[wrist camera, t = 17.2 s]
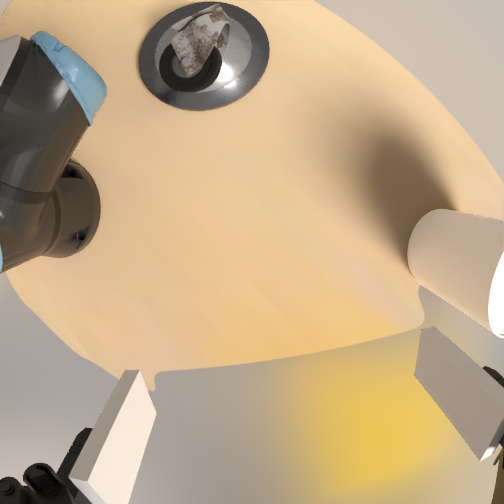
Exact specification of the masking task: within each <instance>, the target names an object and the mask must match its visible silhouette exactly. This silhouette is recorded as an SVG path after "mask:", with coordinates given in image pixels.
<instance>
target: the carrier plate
mask: <svg viewBox="0 0 504 504" xmlns="http://www.w3.org/2000/svg"><path fill="white" fill-rule="evenodd" d="M215 4H219V5H220V6H221V8H222V9H223V11H224V12H225V13H226V15H227V16H228V21H229V23H230V38H229V44H228V48H227V51H226V53H225V55H224V57H223V58H222V68H221V72H220V74H219V76H218V78H217V79H216V80H215V81H214V83H213V84H212V85H210V86H209V87H208V88H206V89H204V90H201V91H198V92H192V93H188V92H181V91H177V90H174V89H172V88H170V87H169V86H168V85H166V84H165V83H164V81H163V80H162V78H161V76H160V72H159V61H160V57H161V55H162V53H163V51H164V50H165V48H166V47H167V46H168V45H169V44H170V43H171V42H170V40H171V39H172V37H173V36H174V35H176V34H177V33H179V32H178V31H176V30H175V29H173V28H172V27H171V26H173V25H174V24H176V23H178V22H180V21H182V20H184V19H186V18H188V17H190V16H192V15H194V14H196V13H198V12H200V11H202V10H204V9H206V8H208V7H211V6H213V5H215ZM268 59H269V41H268V37H267V34H266V32H265V30H264V28H263V27H262V25H261V24H260V22H259V21H258V20H257V19H256V18H255V17H254V16H252V15H251V14H250V13H248V12H247V11H245V10H244V9H241V8H239V7H237V6H234V5H231V4H227V3H222V2H201V3H195V4H191V5H188V6H185V7H182V8H180V9H177V10H175V11H173V12H172V13H170V14H168V15H167V16H166V17H164V18H163V19H161V20H160V21H159V22H158V23H157V24H156V25H155V26H154V27H153V29H152V30H151V31H150V32H149V34H148V35H147V37H146V39H145V41H144V43H143V45H142V48H141V52H140V58H139V66H140V73H141V76H142V79H143V81H144V83H145V85H146V86H147V88H148V89H149V90H150V91H151V92H152V93H153V95H155V96H156V97H157V98H158V99H159V100H161V101H162V102H164V103H166V104H167V105H170V106H172V107H175V108H178V109H182V110H189V111H206V110H212V109H217V108H221V107H224V106H227V105H229V104H231V103H233V102H235V101H237V100H239V99H240V98H242V97H243V96H245V95H246V94H247V93H249V92H250V91H251V90H252V89H253V88H254V87H255V86H256V84H257V83H258V82H259V81H260V79H261V77H262V76H263V74H264V72H265V70H266V67H267V63H268Z"/></svg>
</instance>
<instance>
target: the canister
mask: <svg viewBox="0 0 504 504" xmlns="http://www.w3.org/2000/svg"><path fill="white" fill-rule="evenodd" d="M407 260H408V266H409V269H410V272H411V274H412V276H413V277H414V279H415V280H416V281H417V282H418V283H419V284H421V285H422V286H424V287H425V288H427V289H428V290H430V291H432V292H433V293H435V294H436V295H438V296H439V297H441V298H442V299H444V300H446V301H447V302H448V303H450V304H451V305H453V306H454V307H456V308H457V309H459V310H460V311H462V312H464V313H465V314H467V315H468V316H469V317H471V318H473V319H474V320H476V321H477V322H478V323H480V324H481V325H483V326H484V327H485V328H487V329H488V330H490V331H491V332H492V333H494V334H495V335H497V336H499V337H500V338H504V221H503V220H499V219H494V218H489V217H484V216H479V215H474V214H469V213H464V212H459V211H453V210H448V209H436V210H432V211H430V212H428V213H427V214H425V215H424V216H423V217H422V218H421V219H420V220H419V221H418V223H417V224H416V226H415V227H414V229H413V231H412V233H411V236H410V239H409V243H408V249H407Z"/></svg>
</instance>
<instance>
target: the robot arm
mask: <svg viewBox="0 0 504 504" xmlns="http://www.w3.org/2000/svg"><path fill="white" fill-rule="evenodd" d="M106 94H107V87H106V84H105V82H104V80H103V79H102V78H101V76H100V75H99V74H98V73H97V72H96V71H95V70H94V69H93V68H92V67H91V66H90V65H89V64H88V63H87V62H85V61H84V60H83V59H82V58H81V57H80V56H79V55H77V54H76V53H75V52H74V51H72V50H71V49H70V48H68V47H67V46H64V45H63V44H62V43H61V42H59V41H58V40H57V39H56V38H55V37H53V36H52V35H50V34H48V33H46V32H43V31H39V32H37V33H36V34H35V35H33V36H32V37H31V38H30V41H29V40H27V39H25V38H23V37H21V36H19V35H15V36H12V37H9V38H7V39H4V40H2V41H0V273H2V272H5V271H7V270H9V269H11V268H13V267H15V266H18V265H20V264H22V263H24V262H26V261H29V260H31V259H33V258H36V257H38V256H47V257H54V258H64V257H68V256H71V255H73V254H75V253H78V252H79V251H81V250H83V249H84V248H85V247H86V246H87V245H88V244H89V243H90V241H91V240H92V239H93V237H94V235H95V233H96V230H97V228H98V224H99V220H100V208H101V207H100V197H99V193H98V189H97V186H96V184H95V182H94V180H93V178H92V177H91V175H90V174H89V173H88V172H87V171H86V170H85V169H84V168H83V167H82V166H80V165H78V164H76V163H74V162H70V161H69V159H70V157H71V156H72V154H73V152H74V150H75V148H76V147H77V145H78V143H79V141H80V140H81V138H82V136H83V135H84V133H85V131H86V130H87V128H88V126H89V127H90V126H91V125H92V123H93V118H94V117H95V115H96V113H97V112H98V110H99V108H100V107H101V105H102V103H103V102H104V100H105V98H106ZM414 376H415V377H416V378H417V379H418V380H419V382H420V383H421V384H422V386H423V387H424V388H425V389H426V391H427V392H428V393H429V394H430V396H431V397H432V398H433V400H434V401H435V402H436V403H437V405H438V406H439V407H440V409H441V410H442V411H443V412H444V414H445V415H446V416H447V418H448V419H449V420H450V422H451V423H452V424H453V425H454V427H455V428H456V429H457V431H458V432H459V433H460V435H461V436H462V437H463V439H464V440H465V442H466V443H467V444H468V445H469V447H470V448H471V450H472V451H473V452H474V454H475V455H476V456H477V458H478V459H479V461H481V460H483V459H485V458H486V457H488V456H489V455H491V454H493V453H494V451H495V450H496V448H497V446H498V444H499V443H500V445H501V446H502V447H503V448H502V450H501V451H500V453H499V455H498V456H497V458H496V459H495V461H494V464H493V465H495V464H496V463H497V462H498V460H499V466H498V472H497V478H496V485H495V490H494V494H493V499H492V503H491V504H504V378H503V377H502V376H501V375H500V374H499V373H498V372H497V371H496V370H494V369H491V368H489V367H487V366H485V367H483V368H481V367H480V366H479V365H478V364H477V363H475V361H474V360H472V359H471V358H470V357H469V356H468V355H467V354H466V353H465V352H463V351H462V350H461V349H460V348H459V347H458V346H456V345H455V344H454V343H453V342H452V341H451V340H450V339H448V338H447V337H446V336H445V335H444V334H443V333H441V332H440V331H439V330H438V329H437V328H436V327H434V326H431V327H428V328H425V329H421V335H420V342H419V349H418V355H417V362H416V368H415V373H414ZM156 414H157V413H156V411H155V408H154V406H153V404H152V401H151V399H150V396H149V394H148V391H147V388H146V386H145V383H144V380H143V377H142V375H141V372H140V370H125V371H124V373H123V375H122V377H121V378H120V380H119V382H118V384H117V385H116V387H115V389H114V391H113V393H112V394H111V396H110V398H109V400H108V402H107V404H106V406H105V407H104V409H103V411H102V413H101V414H100V416H99V418H98V420H97V422H96V424H95V426H94V428H85V429H84V430H82V431H81V432H80V433H79V434H78V435H77V437H76V438H75V440H74V442H73V445H72V446H71V447H70V449H69V453H67V455H66V457H65V458H64V460H63V462H62V464H61V466H60V468H59V469H58V471H57V473H55V471H54V470H53V469H52V468H51V467H50V466H49V465H47V464H45V463H35V464H33V465H31V466H30V467H28V468H27V469H26V470H25V472H24V475H23V481H24V482H25V483H26V484H27V485H28V486H22V485H21V484H20V482H19V481H18V480H17V479H15V478H13V477H5V478H3V479H1V480H0V504H128V502H129V499H130V496H131V492H132V489H133V486H134V482H135V479H136V476H137V473H138V469H139V466H140V463H141V460H142V457H143V454H144V450H145V447H146V444H147V441H148V438H149V435H150V432H151V429H152V426H153V423H154V420H155V417H156Z"/></svg>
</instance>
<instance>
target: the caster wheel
mask: <svg viewBox="0 0 504 504" xmlns="http://www.w3.org/2000/svg"><path fill="white" fill-rule="evenodd" d="M171 27H172V28H173V29H175V30H176V31H178V32H179V33H177V34H176V35H174V36H173V37H172V39H171V40H170V42H171V43H170V44H169V45H168V46H167V47H166V48H165V50H164V51H163V53H162V55H161V57H160V61H159V72H160V76H161V78H162V80H163V81H164V83H165V84H166V85H168V86H169V87H170V88H172V89H174V90H177V91H181V92H188V93H192V92H198V91H201V90H204V89H206V88H208V87H209V86H210V85H212V84H213V83H214V81H215V80H216V79H217V78H218V76H219V74H220V72H221V68H222V58H223V57H224V55H225V53H226V51H227V48H228V44H229V38H230V23H229V21H228V16H227V15H226V13H225V12H224V11H223V9H222V8H221V6H220V5H219V4H215V5H213V6H211V7H208V8H206V9H204V10H202V11H200V12H198V13H196V14H194V15H192V16H190V17H188V18H186V19H184V20H182V21H180V22H178V23H176V24H174V25H173V26H171Z"/></svg>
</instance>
